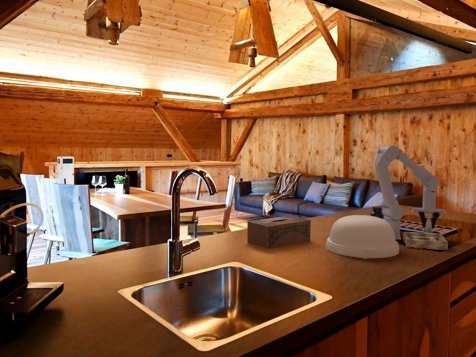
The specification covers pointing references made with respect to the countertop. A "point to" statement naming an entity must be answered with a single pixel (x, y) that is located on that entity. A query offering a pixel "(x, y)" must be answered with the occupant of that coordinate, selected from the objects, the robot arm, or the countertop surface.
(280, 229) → the tissue box cover
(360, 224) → the dome cover
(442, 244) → the peg box
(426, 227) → the steel peg
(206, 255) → the countertop surface
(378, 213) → the supplement bottle
